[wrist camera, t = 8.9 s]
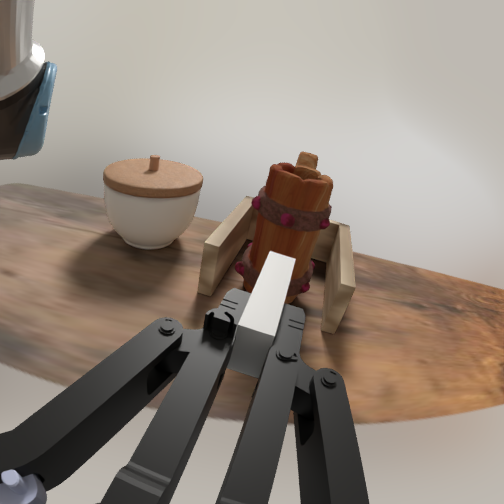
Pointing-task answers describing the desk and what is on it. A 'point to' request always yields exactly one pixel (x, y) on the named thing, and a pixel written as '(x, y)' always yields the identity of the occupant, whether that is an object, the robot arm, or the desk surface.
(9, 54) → the robot arm
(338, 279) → the wooden u-shaped frame
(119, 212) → the lidded bowl
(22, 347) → the desk surface
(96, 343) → the desk surface
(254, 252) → the mug
